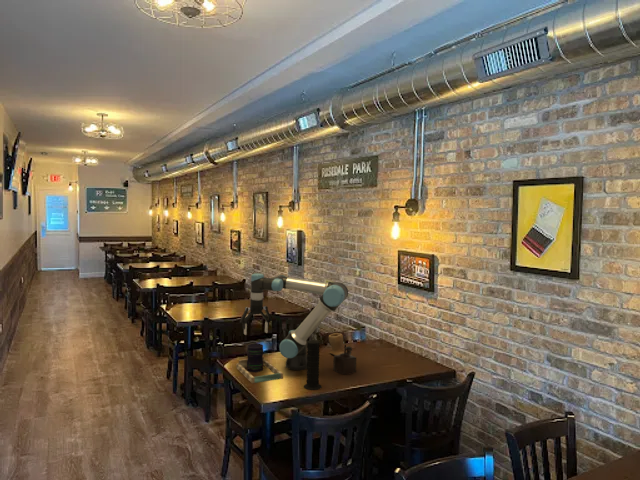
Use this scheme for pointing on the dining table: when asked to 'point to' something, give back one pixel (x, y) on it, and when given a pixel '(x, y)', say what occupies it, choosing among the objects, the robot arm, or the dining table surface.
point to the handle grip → (312, 365)
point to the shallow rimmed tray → (276, 375)
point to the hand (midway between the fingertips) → (255, 333)
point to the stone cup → (336, 343)
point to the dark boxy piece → (345, 362)
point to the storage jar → (255, 357)
